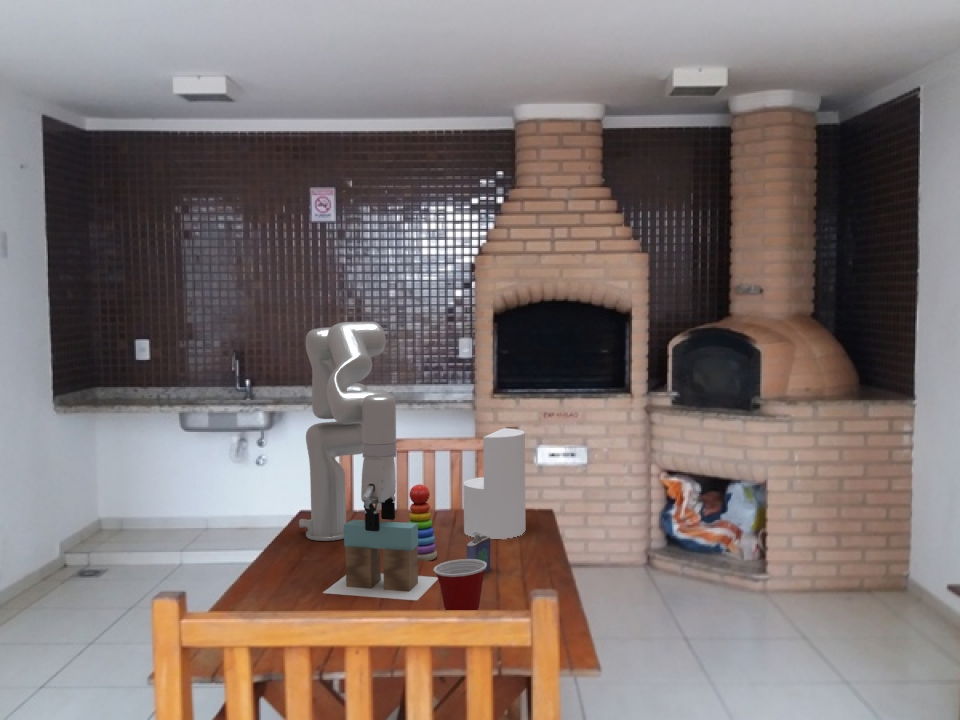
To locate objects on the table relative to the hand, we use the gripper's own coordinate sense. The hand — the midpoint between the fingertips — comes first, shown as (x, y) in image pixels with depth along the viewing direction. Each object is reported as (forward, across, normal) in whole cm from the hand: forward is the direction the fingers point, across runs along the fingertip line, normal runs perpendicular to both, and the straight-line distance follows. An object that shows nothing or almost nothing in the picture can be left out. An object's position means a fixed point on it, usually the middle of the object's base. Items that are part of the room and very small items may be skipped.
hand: (380, 524), depth 201 cm
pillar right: (+14, +1, +5) cm, 15 cm away
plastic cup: (+14, +17, +24) cm, 32 cm away
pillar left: (+14, +1, -4) cm, 14 cm away
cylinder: (+16, -53, +14) cm, 57 cm away
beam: (+5, 0, 0) cm, 5 cm away
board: (+15, +1, 0) cm, 15 cm away
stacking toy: (+15, -24, +2) cm, 29 cm away
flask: (+15, -12, +20) cm, 27 cm away
